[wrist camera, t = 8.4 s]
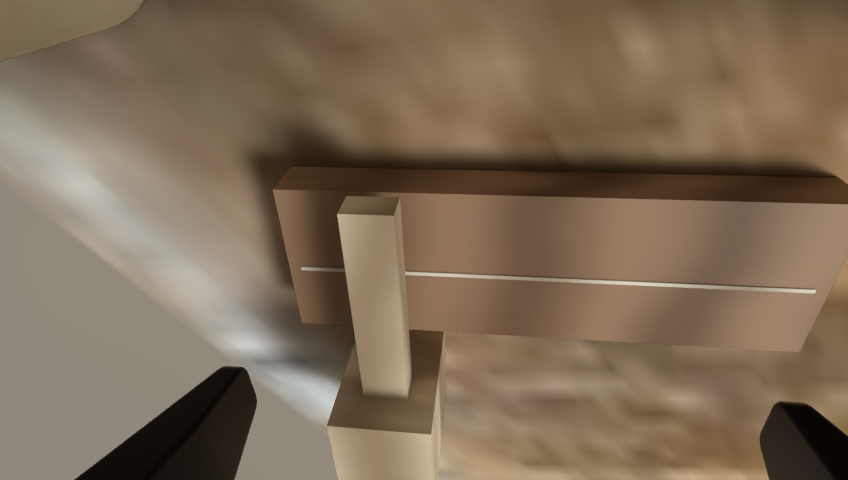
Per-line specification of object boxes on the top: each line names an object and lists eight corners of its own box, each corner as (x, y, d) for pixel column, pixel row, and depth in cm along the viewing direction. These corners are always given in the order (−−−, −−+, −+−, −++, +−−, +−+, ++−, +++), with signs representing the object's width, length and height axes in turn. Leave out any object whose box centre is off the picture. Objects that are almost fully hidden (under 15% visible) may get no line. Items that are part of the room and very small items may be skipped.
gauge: (442, 157, 19) (423, 243, 14) (446, 398, 27) (434, 511, 22) (339, 155, 20) (286, 238, 15) (371, 393, 27) (343, 502, 22)
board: (838, 177, 18) (874, 206, 16) (775, 317, 21) (799, 353, 20) (291, 166, 20) (272, 190, 18) (315, 294, 24) (301, 323, 22)
